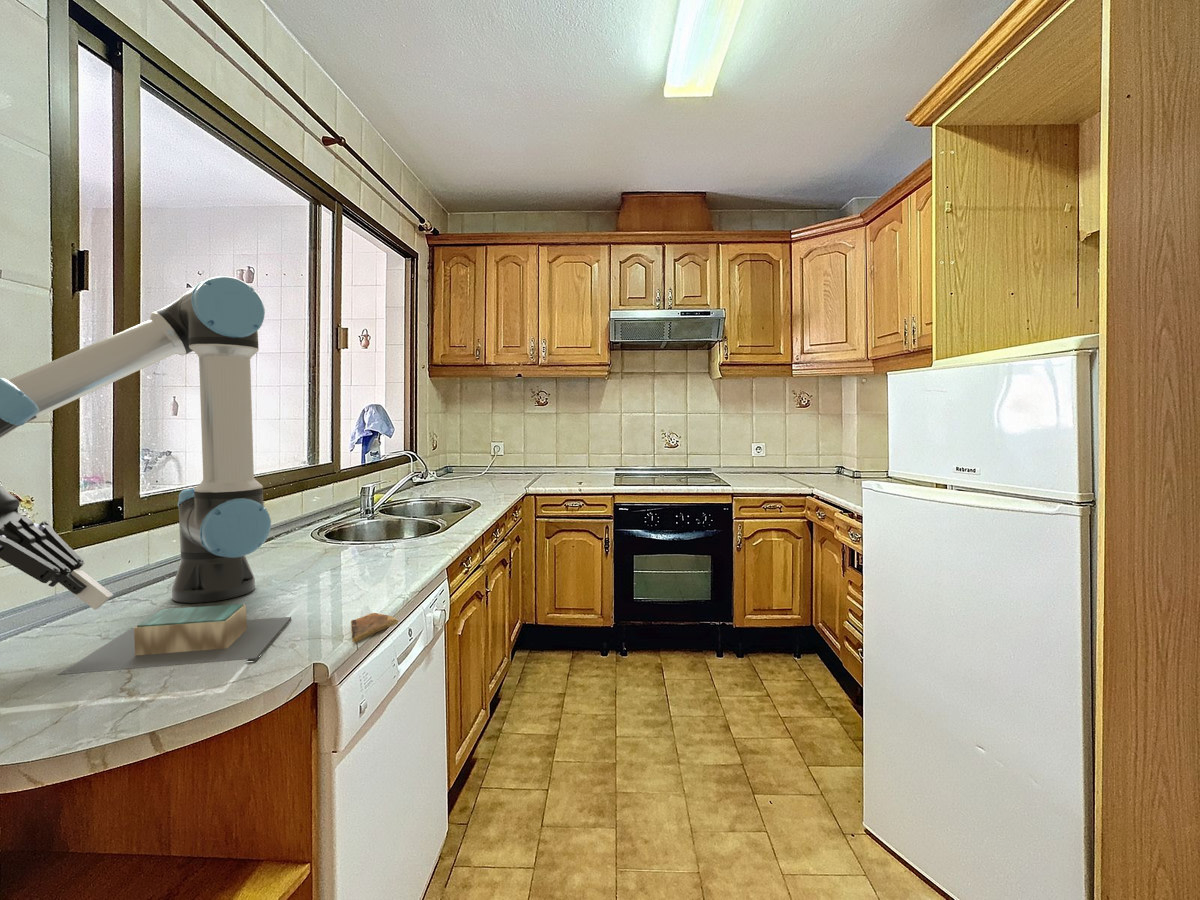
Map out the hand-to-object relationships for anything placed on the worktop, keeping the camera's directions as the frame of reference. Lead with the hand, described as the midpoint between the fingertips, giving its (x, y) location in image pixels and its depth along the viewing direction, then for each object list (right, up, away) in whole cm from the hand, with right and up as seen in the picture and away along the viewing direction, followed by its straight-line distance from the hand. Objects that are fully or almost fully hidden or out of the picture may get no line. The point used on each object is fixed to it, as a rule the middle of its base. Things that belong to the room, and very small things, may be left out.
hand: (104, 602), depth 97 cm
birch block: (+6, -5, +2) cm, 8 cm away
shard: (+39, -8, +11) cm, 42 cm away
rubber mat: (+12, -8, +3) cm, 14 cm away
